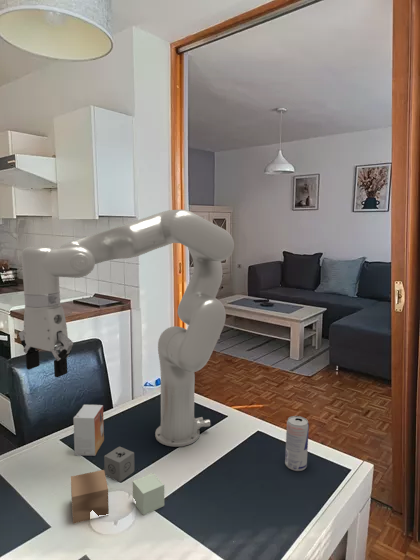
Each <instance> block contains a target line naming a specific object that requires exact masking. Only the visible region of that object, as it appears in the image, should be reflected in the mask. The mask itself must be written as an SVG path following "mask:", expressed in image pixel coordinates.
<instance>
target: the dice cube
mask: <svg viewBox="0 0 420 560" xmlns="http://www.w3.org/2000/svg"><path fill="white" fill-rule="evenodd" d="M103 459H104V460H103V462H104V465H103V467H104V472H105V476H106V477H108V478H110V479H113V480H115V481H117V482H119V483H120V482H123V481H124V480H125V479H126V478H128V477H129V476H130V475H132V474H133V473H134V472H135V452H134V451H132V450H129V449H126V448H125V447H121V446H118V447H116V448H114V449H113V450H112V451H110V452H108V453H107V454H105V455H103Z"/></svg>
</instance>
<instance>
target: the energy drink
mask: <svg viewBox="0 0 420 560" xmlns="http://www.w3.org/2000/svg"><path fill="white" fill-rule="evenodd" d="M309 426H310V424H309V421H308V419H307V418H305V417H303V416H300V415H299V416H298V415H293V416H292V415H291V416H289V417H288V418H287V421H286V433H285V434H286V436H285V437H286V438H285V454H284V455H285V458H284V459H285V460H284V464H285V466H286V467H287V468H288V469H289V470H290V471H295V472H302V471H304V470H305V469H306V468H307V467H308V451H309V450H308V447H309V432H310V431H309V429H310V427H309Z"/></svg>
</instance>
